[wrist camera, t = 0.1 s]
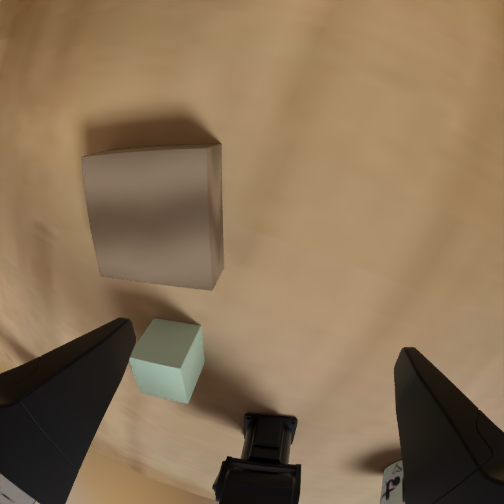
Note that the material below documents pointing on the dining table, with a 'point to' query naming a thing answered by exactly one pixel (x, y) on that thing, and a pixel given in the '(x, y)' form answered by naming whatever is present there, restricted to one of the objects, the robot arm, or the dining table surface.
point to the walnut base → (157, 213)
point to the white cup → (393, 485)
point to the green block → (168, 360)
